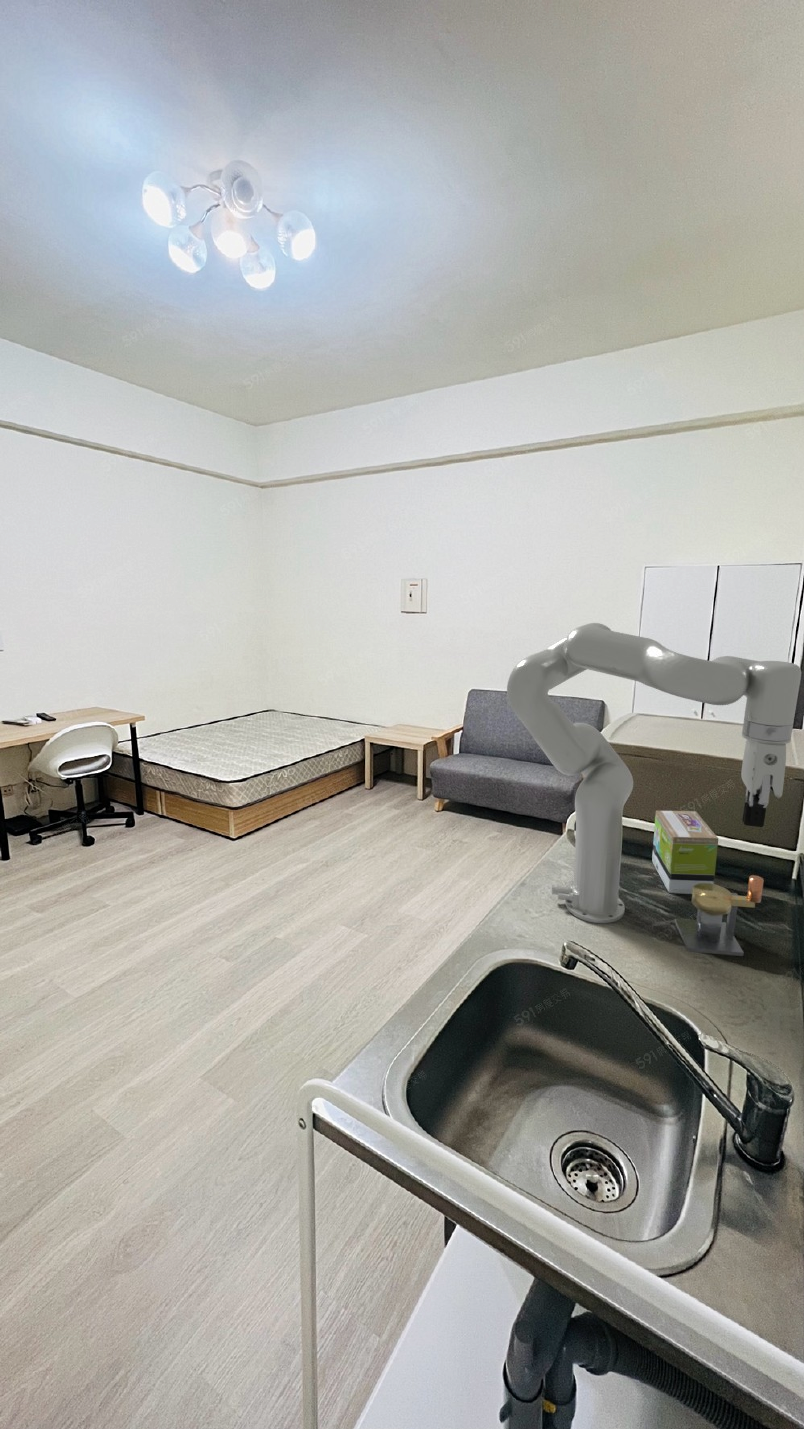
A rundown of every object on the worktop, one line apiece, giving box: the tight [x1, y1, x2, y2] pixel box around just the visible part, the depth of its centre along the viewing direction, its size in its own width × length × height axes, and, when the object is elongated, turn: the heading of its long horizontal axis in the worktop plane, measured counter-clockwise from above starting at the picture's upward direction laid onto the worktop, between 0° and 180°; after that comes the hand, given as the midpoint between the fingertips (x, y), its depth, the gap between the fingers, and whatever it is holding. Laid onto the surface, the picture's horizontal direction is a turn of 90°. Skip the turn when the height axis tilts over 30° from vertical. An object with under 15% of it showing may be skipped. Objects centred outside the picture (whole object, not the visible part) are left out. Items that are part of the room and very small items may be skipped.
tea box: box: [651, 809, 719, 895], centre depth 139 cm, size 15×10×15 cm, turn 172°
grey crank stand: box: [674, 892, 745, 957], centre depth 117 cm, size 10×10×9 cm
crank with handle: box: [691, 874, 765, 916], centre depth 115 cm, size 12×7×7 cm, turn 78°
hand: (752, 824), depth 109 cm, fingers closed
